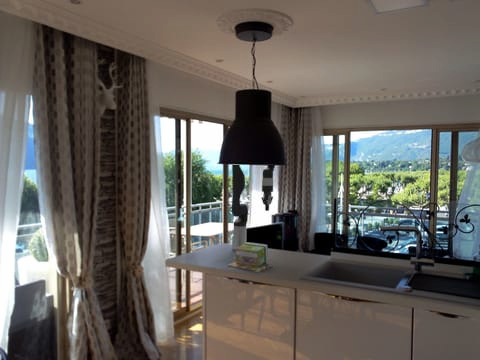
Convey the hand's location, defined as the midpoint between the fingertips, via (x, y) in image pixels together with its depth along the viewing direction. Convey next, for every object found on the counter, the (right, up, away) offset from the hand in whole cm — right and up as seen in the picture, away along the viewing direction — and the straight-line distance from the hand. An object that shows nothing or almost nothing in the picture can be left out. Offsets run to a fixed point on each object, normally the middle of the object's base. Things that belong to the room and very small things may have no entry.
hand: (267, 210), depth 267 cm
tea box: (-7, -24, -15) cm, 29 cm away
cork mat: (-14, -32, -24) cm, 42 cm away
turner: (-4, -32, -31) cm, 45 cm away
